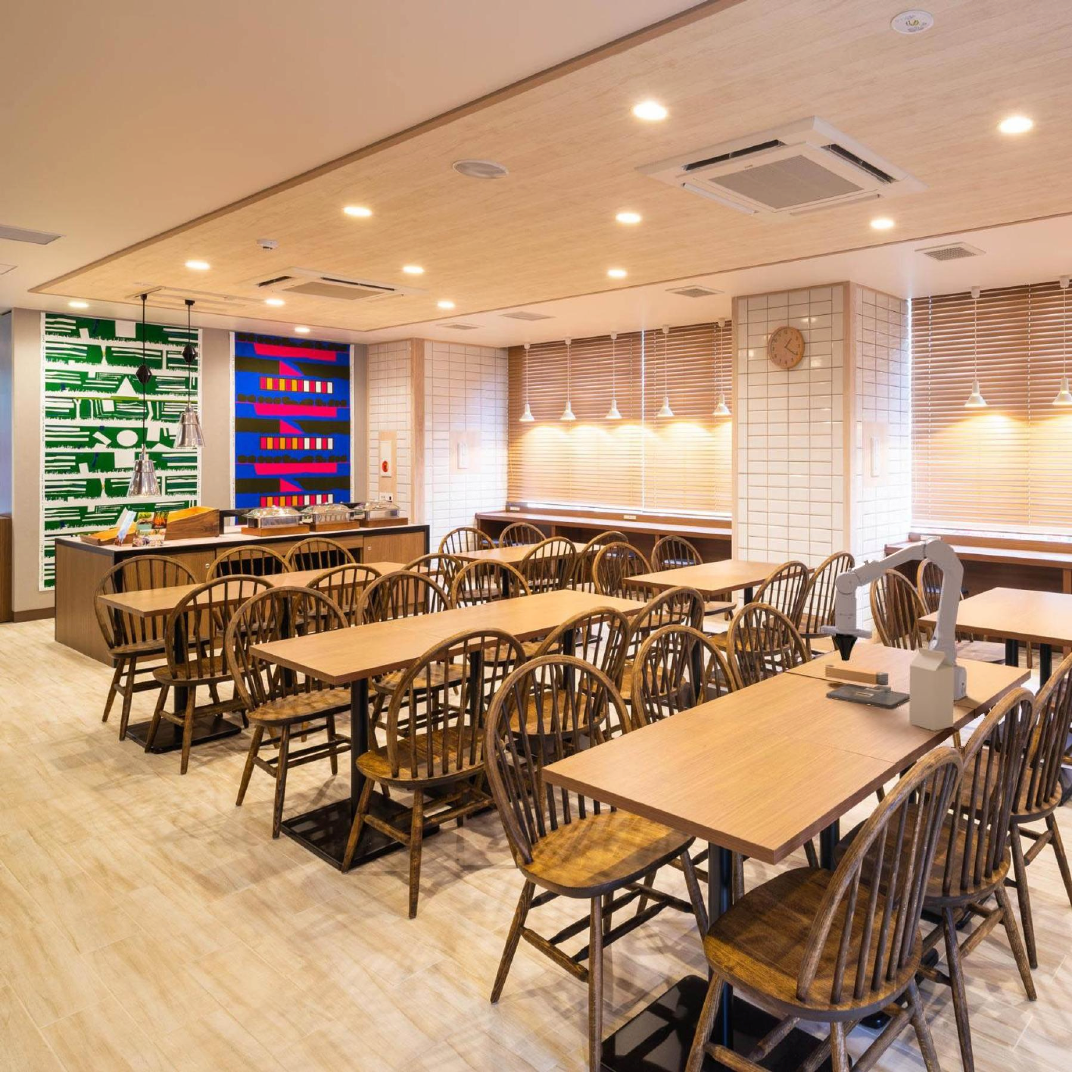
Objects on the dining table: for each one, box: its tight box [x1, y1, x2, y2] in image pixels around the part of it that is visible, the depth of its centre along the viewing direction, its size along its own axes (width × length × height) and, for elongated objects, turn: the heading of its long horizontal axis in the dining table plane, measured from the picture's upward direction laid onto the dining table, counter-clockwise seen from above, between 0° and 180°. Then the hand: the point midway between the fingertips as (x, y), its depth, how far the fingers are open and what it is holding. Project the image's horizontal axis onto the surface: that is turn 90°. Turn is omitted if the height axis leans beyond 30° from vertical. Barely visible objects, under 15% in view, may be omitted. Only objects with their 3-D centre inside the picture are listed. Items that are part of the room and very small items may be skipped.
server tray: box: [825, 683, 910, 710], centre depth 232 cm, size 18×18×2 cm
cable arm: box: [824, 663, 889, 686], centre depth 242 cm, size 18×4×3 cm, turn 46°
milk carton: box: [908, 647, 955, 732], centre depth 204 cm, size 7×7×19 cm
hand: (845, 660), depth 239 cm, fingers closed
